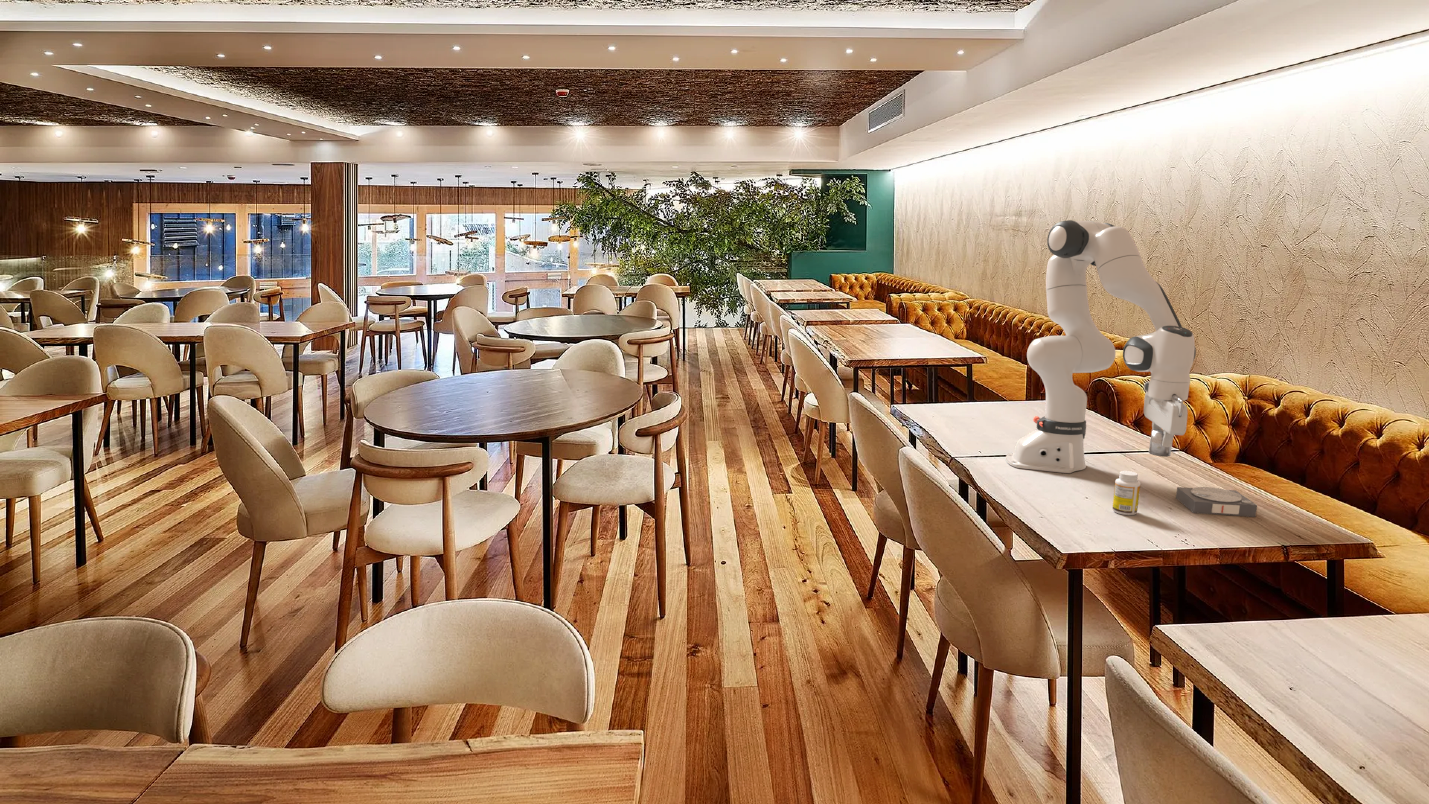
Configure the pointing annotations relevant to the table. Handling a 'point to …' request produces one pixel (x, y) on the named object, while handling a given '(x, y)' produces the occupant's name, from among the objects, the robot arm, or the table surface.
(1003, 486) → the table surface
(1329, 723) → the table surface
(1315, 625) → the table surface
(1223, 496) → the scale pan
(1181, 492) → the scale base
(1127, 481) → the supplement bottle
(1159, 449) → the cylinder
